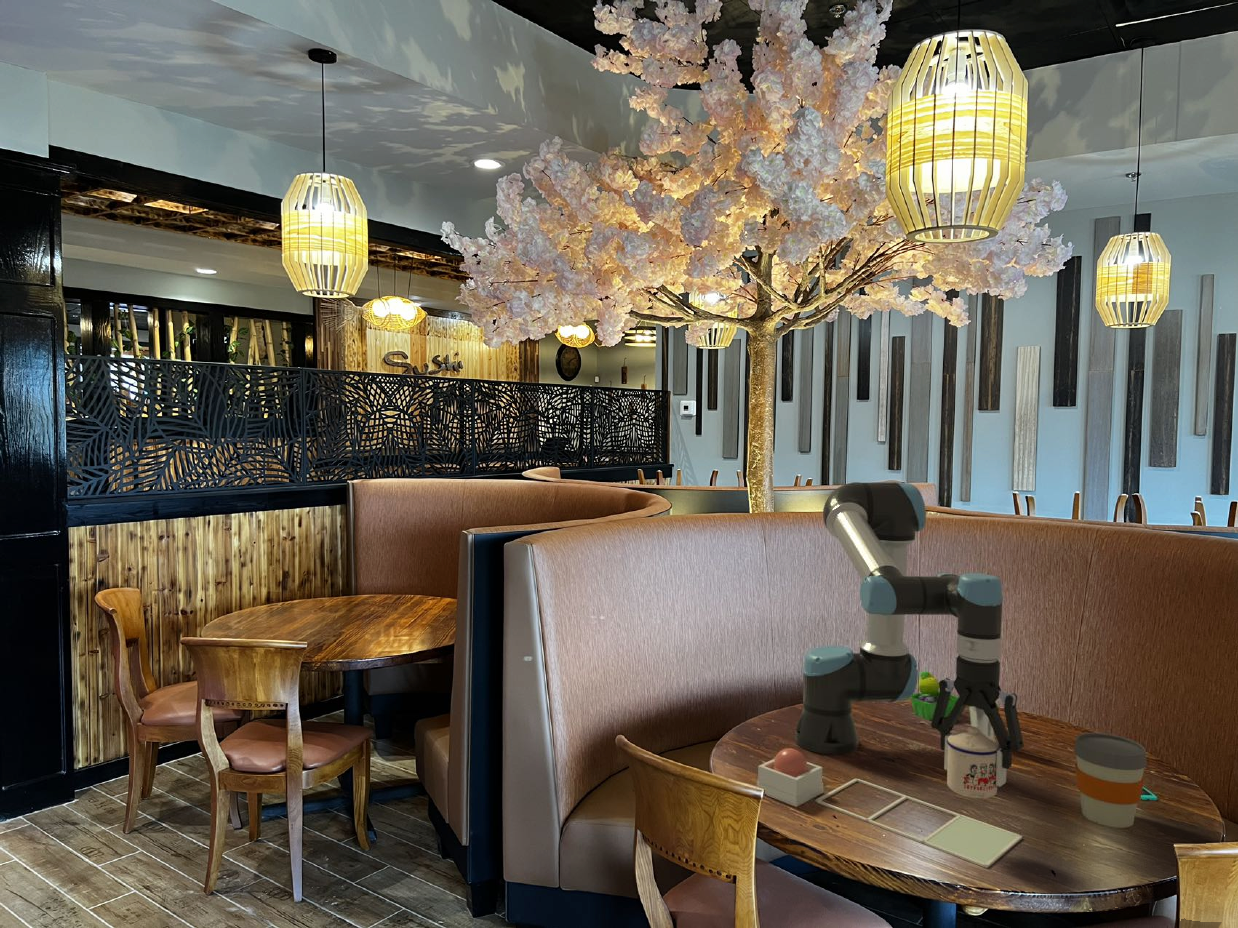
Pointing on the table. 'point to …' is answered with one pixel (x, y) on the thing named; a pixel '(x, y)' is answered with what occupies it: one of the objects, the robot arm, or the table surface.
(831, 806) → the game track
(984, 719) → the beer glass
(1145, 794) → the handheld game console
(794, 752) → the red ball
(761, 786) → the grey square box
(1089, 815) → the reusable coffee cup
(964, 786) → the teacup with lid
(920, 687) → the fruit basket
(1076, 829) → the table surface
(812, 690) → the robot arm
